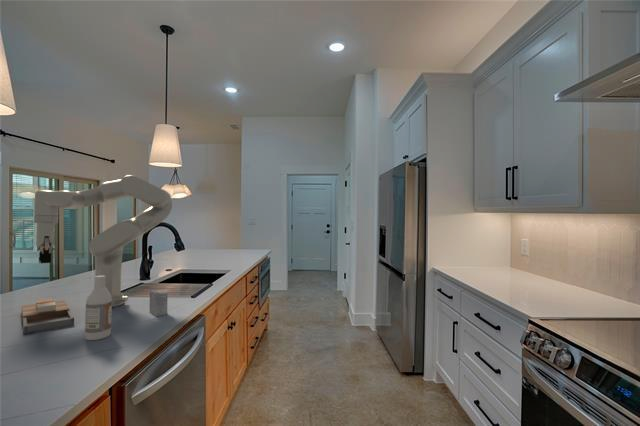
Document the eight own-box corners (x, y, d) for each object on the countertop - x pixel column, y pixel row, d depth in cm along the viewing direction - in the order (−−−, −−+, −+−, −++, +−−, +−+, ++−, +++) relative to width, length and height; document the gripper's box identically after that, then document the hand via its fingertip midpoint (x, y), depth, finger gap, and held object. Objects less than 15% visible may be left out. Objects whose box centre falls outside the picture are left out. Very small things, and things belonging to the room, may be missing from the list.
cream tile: (37, 309, 117) (37, 304, 117) (54, 306, 120) (54, 301, 120) (38, 312, 113) (38, 307, 113) (55, 309, 117) (55, 304, 117)
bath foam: (108, 339, 98) (110, 277, 99) (82, 342, 95) (84, 278, 96) (112, 331, 105) (114, 273, 105) (87, 334, 102) (89, 274, 102)
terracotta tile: (36, 305, 121) (36, 300, 121) (52, 303, 125) (52, 298, 125) (36, 308, 118) (37, 303, 118) (53, 306, 121) (54, 301, 121)
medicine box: (167, 314, 124) (168, 293, 124) (155, 316, 121) (156, 295, 121) (160, 310, 129) (161, 289, 129) (148, 312, 126) (149, 291, 126)
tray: (22, 324, 109) (23, 317, 109) (69, 316, 118) (69, 310, 118) (23, 334, 100) (24, 326, 100) (73, 325, 110) (74, 318, 110)
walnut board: (21, 313, 120) (21, 305, 120) (64, 307, 130) (64, 300, 130) (22, 324, 109) (22, 316, 109) (69, 316, 118) (69, 309, 118)
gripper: (33, 219, 131) (31, 260, 131) (35, 220, 119) (33, 265, 119) (56, 219, 136) (54, 258, 136) (60, 220, 124) (58, 263, 124)
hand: (44, 261), depth 127 cm, fingers open, 6 cm apart
